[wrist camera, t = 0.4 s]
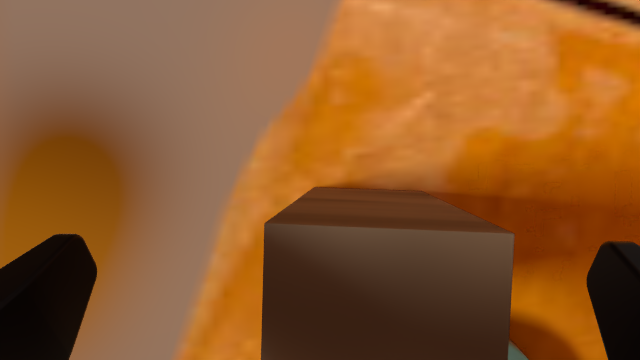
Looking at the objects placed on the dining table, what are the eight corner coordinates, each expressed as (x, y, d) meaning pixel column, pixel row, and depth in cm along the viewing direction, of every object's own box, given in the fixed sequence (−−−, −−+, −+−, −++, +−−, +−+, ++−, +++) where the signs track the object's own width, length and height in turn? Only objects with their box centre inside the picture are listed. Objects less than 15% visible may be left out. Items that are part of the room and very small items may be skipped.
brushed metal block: (417, 281, 23) (503, 442, 10) (311, 276, 23) (259, 424, 10) (421, 191, 23) (514, 233, 10) (314, 187, 23) (264, 223, 10)
